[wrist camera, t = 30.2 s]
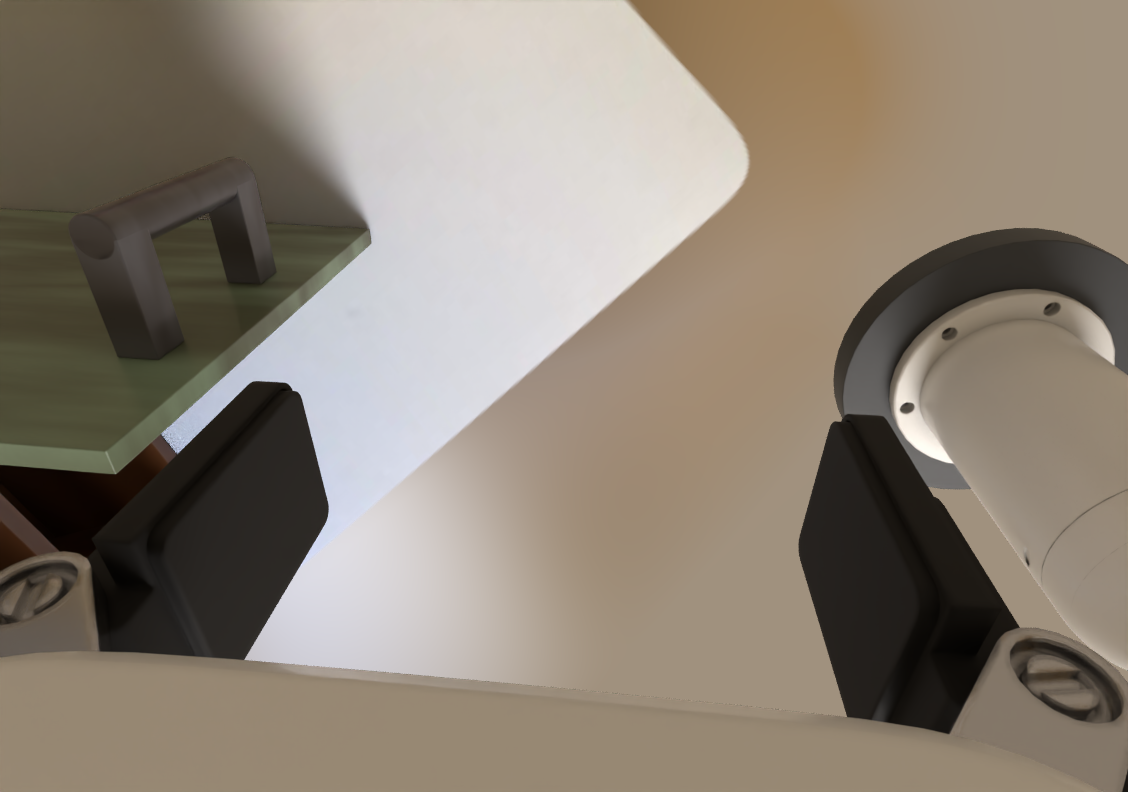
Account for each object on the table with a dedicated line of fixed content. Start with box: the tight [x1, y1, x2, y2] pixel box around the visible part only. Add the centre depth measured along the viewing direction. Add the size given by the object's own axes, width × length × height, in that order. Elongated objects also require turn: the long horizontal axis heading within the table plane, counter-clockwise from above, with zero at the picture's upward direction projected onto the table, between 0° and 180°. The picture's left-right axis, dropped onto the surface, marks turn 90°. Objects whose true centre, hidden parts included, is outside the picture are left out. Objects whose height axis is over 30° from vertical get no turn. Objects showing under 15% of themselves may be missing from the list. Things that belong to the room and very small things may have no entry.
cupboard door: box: [0, 157, 371, 474], centre depth 30 cm, size 7×26×24 cm, turn 89°
